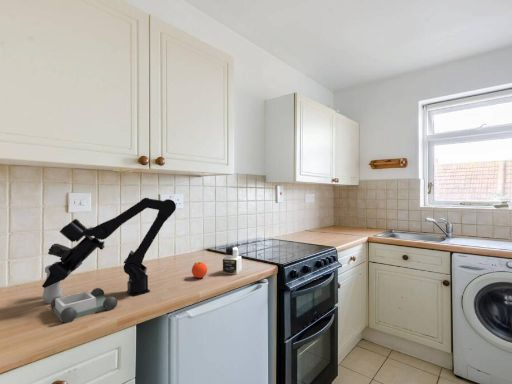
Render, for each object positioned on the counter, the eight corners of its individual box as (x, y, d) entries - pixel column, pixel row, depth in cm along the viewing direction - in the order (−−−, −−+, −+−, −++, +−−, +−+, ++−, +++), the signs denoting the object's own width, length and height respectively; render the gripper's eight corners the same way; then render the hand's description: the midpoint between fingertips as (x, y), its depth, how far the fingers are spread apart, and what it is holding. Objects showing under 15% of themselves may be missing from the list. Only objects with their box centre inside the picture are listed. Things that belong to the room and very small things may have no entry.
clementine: (187, 277, 129) (187, 261, 129) (200, 274, 134) (200, 259, 134) (197, 281, 124) (197, 264, 124) (210, 277, 129) (210, 261, 129)
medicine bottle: (222, 273, 135) (222, 248, 135) (228, 269, 142) (228, 245, 142) (236, 274, 133) (236, 249, 133) (241, 270, 140) (241, 246, 139)
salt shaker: (66, 298, 105) (65, 263, 105) (55, 304, 99) (55, 267, 99) (49, 298, 105) (49, 263, 105) (38, 304, 99) (38, 267, 99)
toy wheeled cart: (102, 297, 105) (102, 285, 105) (117, 307, 96) (117, 294, 96) (50, 310, 94) (50, 297, 94) (61, 324, 84) (61, 309, 84)
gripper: (72, 232, 112) (39, 262, 109) (55, 240, 94) (15, 276, 91) (95, 250, 114) (63, 281, 111) (82, 261, 97) (44, 298, 93)
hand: (47, 283), depth 101 cm, fingers open, 8 cm apart
